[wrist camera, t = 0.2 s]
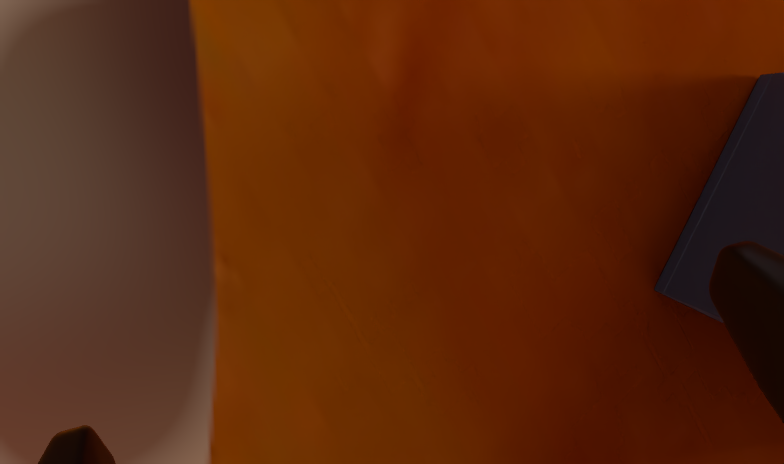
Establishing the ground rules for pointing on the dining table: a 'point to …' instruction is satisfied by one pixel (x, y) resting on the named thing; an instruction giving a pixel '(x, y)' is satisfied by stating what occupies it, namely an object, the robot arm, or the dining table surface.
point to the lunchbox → (734, 199)
